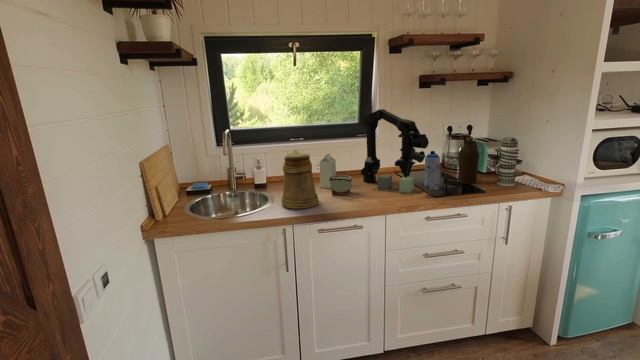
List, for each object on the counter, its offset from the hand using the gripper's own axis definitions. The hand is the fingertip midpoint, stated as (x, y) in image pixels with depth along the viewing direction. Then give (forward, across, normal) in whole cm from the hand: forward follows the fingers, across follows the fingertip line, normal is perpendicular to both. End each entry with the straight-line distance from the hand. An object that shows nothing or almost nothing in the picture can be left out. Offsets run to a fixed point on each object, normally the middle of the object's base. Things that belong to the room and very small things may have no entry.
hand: (406, 176), depth 177 cm
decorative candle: (+9, +40, -41) cm, 58 cm away
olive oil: (+9, +36, -22) cm, 43 cm away
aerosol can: (+9, +16, -8) cm, 20 cm away
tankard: (+9, -36, +42) cm, 56 cm away
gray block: (+8, 0, +12) cm, 14 cm away
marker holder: (+9, 0, +6) cm, 11 cm away
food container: (+9, -16, +29) cm, 34 cm away
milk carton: (+9, -6, +44) cm, 45 cm away
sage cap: (+8, 0, 0) cm, 8 cm away
